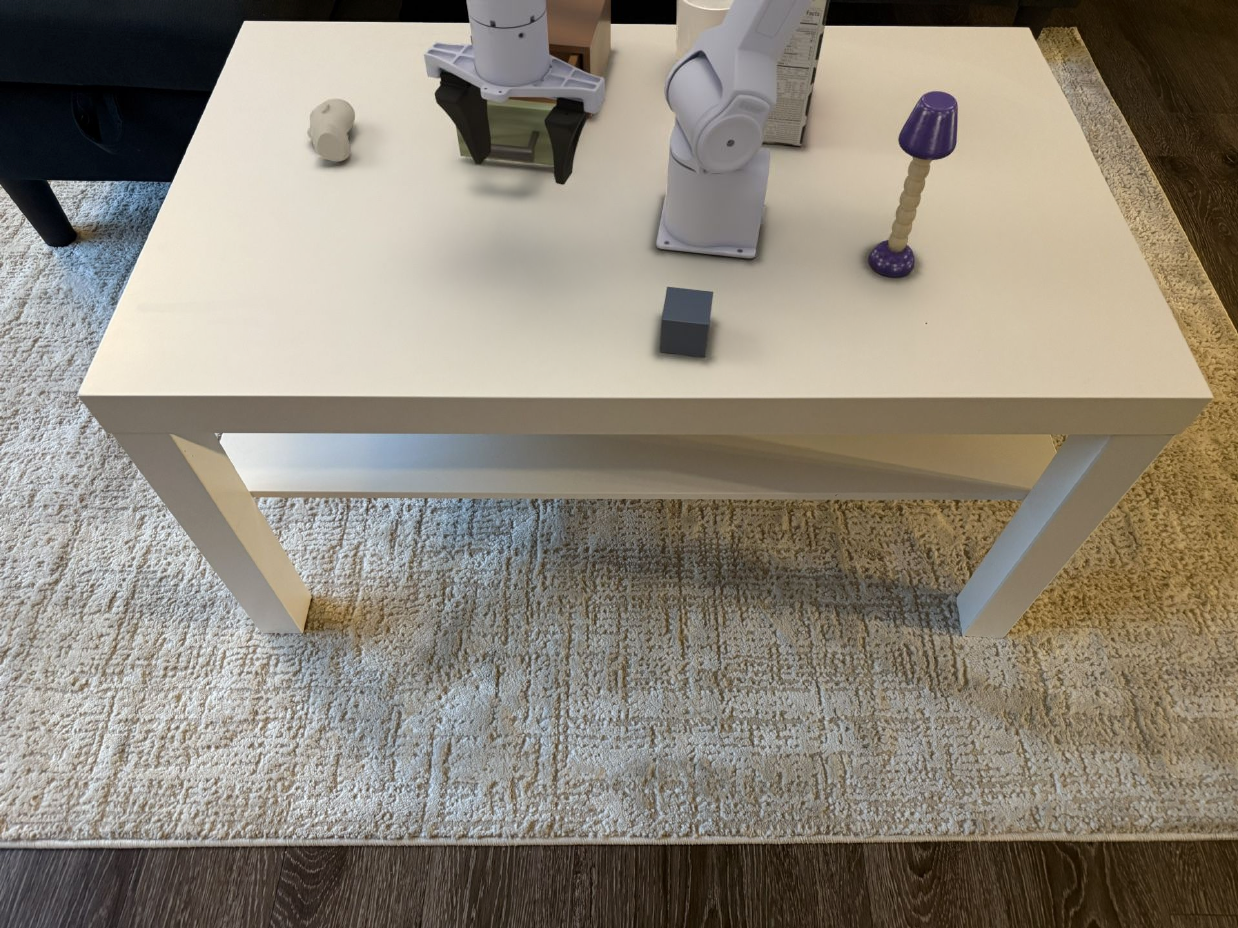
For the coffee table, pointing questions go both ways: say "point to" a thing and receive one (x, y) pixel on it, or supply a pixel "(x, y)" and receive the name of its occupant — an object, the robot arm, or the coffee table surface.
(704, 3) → the white cup
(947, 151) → the toy lamp
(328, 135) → the pale two-lobed sculpture
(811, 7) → the candy bar box
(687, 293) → the block
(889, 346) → the coffee table surface
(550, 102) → the drawer
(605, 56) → the cabinet
